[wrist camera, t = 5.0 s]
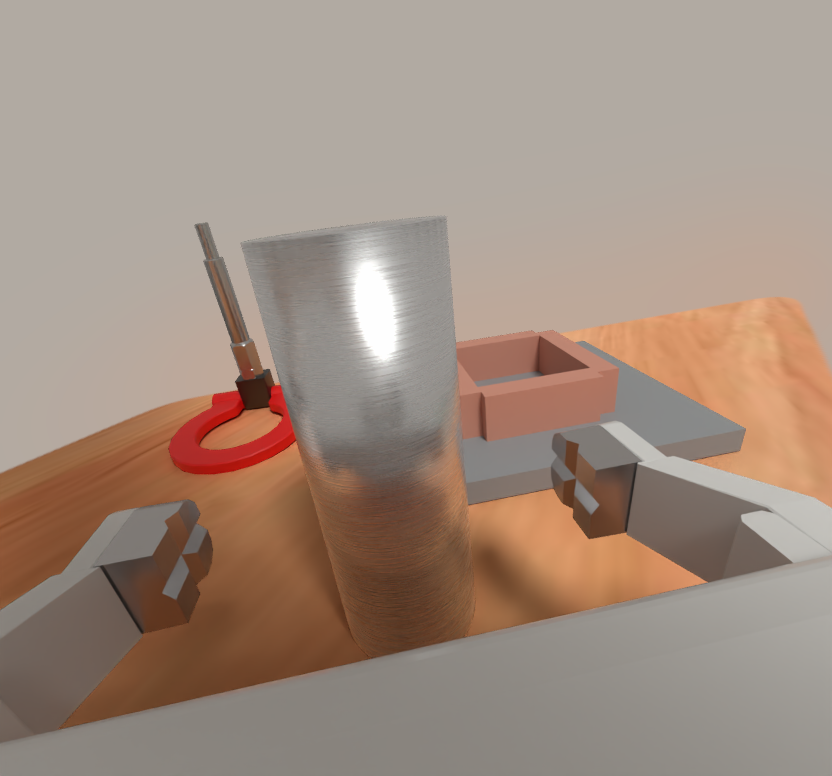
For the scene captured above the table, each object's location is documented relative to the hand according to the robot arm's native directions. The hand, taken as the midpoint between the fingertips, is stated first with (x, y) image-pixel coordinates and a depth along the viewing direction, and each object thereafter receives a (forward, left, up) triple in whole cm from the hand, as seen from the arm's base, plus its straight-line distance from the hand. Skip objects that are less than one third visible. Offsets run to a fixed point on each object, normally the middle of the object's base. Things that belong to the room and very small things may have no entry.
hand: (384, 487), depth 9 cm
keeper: (+8, +13, -7) cm, 17 cm away
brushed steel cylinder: (0, +2, -7) cm, 7 cm away
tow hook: (-9, +17, -7) cm, 20 cm away
